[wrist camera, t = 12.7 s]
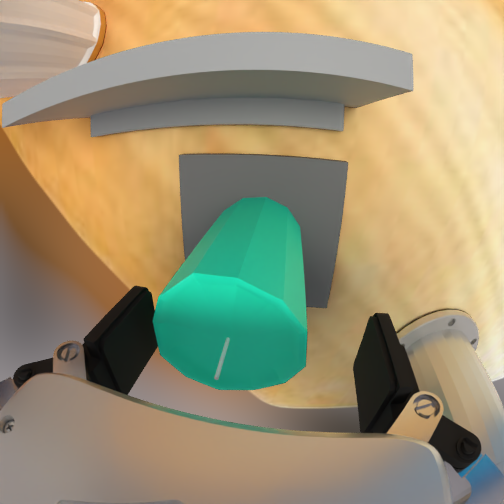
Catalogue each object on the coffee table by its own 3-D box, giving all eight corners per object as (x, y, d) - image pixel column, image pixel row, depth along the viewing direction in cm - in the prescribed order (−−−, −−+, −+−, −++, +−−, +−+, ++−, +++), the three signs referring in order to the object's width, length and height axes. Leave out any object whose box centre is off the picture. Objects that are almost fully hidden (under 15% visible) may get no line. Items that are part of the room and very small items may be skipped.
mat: (325, 302, 21) (326, 308, 21) (191, 290, 23) (188, 295, 22) (345, 161, 17) (348, 162, 16) (183, 153, 18) (179, 155, 17)
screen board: (355, 133, 16) (411, 136, 8) (89, 137, 18) (3, 156, 10) (356, 63, 14) (408, 15, 6) (90, 80, 16) (4, 77, 8)
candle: (311, 207, 18) (339, 331, 7) (290, 284, 20) (282, 433, 9) (221, 188, 18) (123, 280, 7) (210, 266, 20) (141, 398, 10)
